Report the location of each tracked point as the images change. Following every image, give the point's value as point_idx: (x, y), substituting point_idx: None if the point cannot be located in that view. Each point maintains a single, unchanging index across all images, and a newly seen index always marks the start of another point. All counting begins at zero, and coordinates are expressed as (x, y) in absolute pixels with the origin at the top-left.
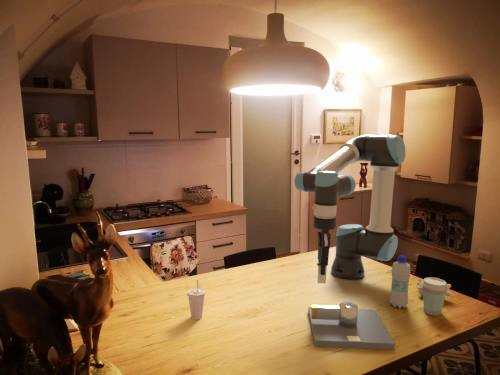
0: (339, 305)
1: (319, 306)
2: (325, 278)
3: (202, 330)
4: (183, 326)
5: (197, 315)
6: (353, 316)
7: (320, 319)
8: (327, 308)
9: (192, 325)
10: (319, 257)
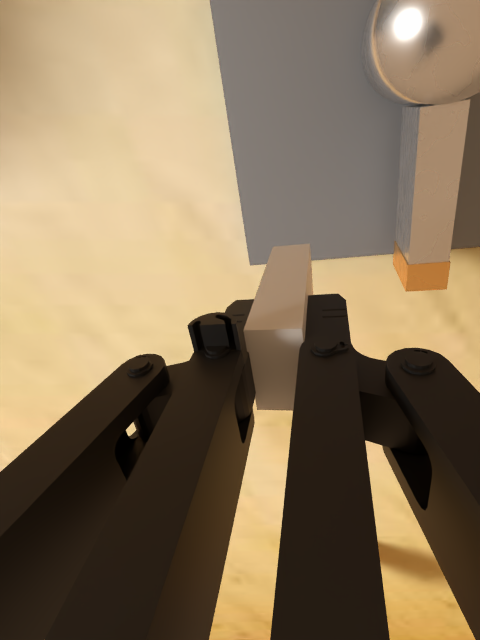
0: (439, 102)
1: (428, 246)
2: (308, 264)
3: (422, 532)
4: (401, 561)
5: None
6: None
7: (373, 209)
8: (456, 195)
9: (394, 548)
10: (241, 468)
